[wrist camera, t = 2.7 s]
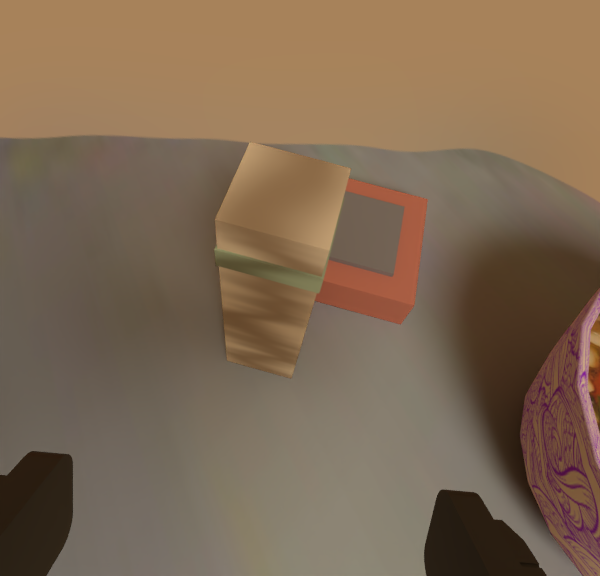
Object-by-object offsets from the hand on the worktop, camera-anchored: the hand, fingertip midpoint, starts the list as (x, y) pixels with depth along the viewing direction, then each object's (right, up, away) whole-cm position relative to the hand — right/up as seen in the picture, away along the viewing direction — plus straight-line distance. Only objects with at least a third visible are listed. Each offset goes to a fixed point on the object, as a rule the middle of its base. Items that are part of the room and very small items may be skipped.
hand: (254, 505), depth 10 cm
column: (-1, +1, +21) cm, 21 cm away
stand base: (+5, +8, +25) cm, 27 cm away
